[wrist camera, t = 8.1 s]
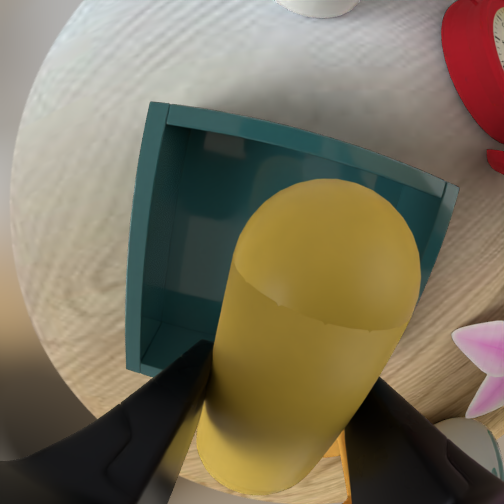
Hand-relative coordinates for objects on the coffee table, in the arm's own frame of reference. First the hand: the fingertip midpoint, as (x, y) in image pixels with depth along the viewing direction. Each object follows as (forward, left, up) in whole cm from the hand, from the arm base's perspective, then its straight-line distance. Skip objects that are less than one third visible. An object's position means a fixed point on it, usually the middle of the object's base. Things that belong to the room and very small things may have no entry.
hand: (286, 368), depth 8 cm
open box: (0, 0, -9) cm, 9 cm away
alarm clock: (-12, -14, -9) cm, 21 cm away
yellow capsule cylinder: (0, 0, -2) cm, 2 cm away
